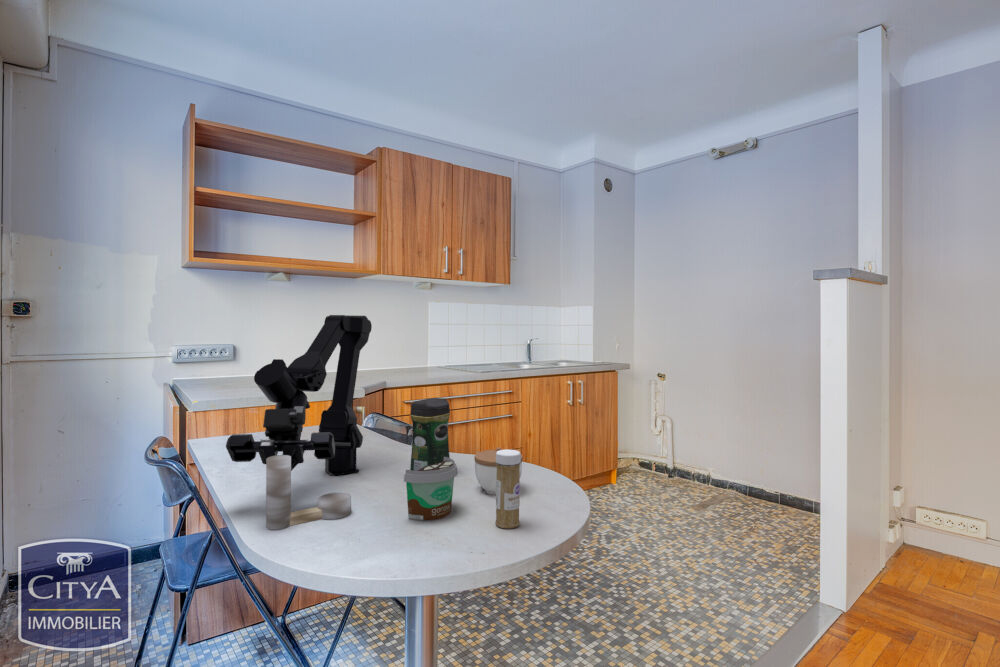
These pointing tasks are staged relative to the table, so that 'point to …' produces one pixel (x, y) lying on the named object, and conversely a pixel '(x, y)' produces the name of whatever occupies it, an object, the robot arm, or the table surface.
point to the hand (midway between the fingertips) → (274, 487)
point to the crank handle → (281, 498)
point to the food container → (430, 490)
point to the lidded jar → (488, 469)
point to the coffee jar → (429, 432)
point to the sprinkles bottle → (507, 488)
